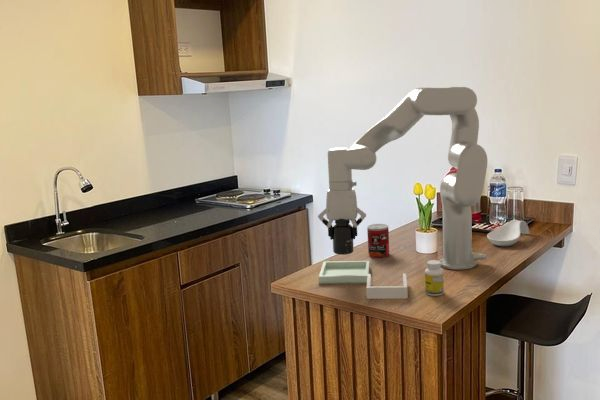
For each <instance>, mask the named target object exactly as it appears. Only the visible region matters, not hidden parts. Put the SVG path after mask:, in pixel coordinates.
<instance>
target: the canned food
mask: <svg viewBox="0 0 600 400" xmlns="http://www.w3.org/2000/svg"><path fill="white" fill-rule="evenodd" d="M366 230H367V250H368V252H367V253H368V256H369V257H371V258H376V259H377V258H378V259H379V258H385V257H388V256H389V254H390V237H389V236H390V235H389V234H390V233H389V225H388V224H386V223H372V224H369V225H367V229H366Z"/></svg>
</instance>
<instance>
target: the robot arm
mask: <svg viewBox="0 0 600 400" xmlns="http://www.w3.org/2000/svg"><path fill="white" fill-rule="evenodd" d="M477 104H478V97H477V94H476V92H475V91H474V90H473V89H471V88H470V87H466V86H450V87H418V88H414V89H413V90H411V91H410V92H409V93H408V94H407V95H406V96H405V97H404V98H403V99H402V100H401V101H400V102H399V103H398V104H397V105H396V106H395V107H394V108H393V109H391V111H390V112H389V113H387V114H386V116H385V117H383V118H382V119H381V120H379V121H378V122H377V123H376V124H374V125H373V126H371V128H369V129H368V130H367V131H365V132H364V133H363V135H362V134H361V135H362V136H361V137H359V138H358V139H357V140H356V141H355V142H354V143H353V144H352V145H351V146H350V148H348V147H333V148H330V149H328V151H327V167H328V168H327V169H328V171H327V172H328V189H327V191H326V203H325V208H324V209H323V210H322V211H321V212H320V213H319V214H318V215H317V218H318V219H319V220H320V221H321V222H322V224H324V225H325V226H326V228H327V234H328V237H329V239H330V240H332V241H333V232H332V228H333V226H334V225H333V222H334V221H335V220H339V219H345V220H350V222H351V223H352V231H353V240H355V239H356V237H358V226H359V225H360V224H361V223H362V222H363V221H364V220H365V218H366V217H367V214H366V212H364V211H363V210H362V209H360V208H359V207H358V201H357V200H358V199H357V195H356V188H353V187H355V186H356V187H357V183H358V182H357V181H353V175H352V174H353V173H352V170H356V171H357V170H358V171H359V170H360V171H367V170H370V169H372V168H373V167H374V166H375V165H376V163H377V155H376V153H377V152H378V151H380V149H381V148H382V147H384V146H385V145H387V144H389V143H391V142H393V141H396V140H398V139H400V138H402V137H403V136H404V135H406V134H407V133H408V132H409V131H410V130H411V129H412V128H413V127H414V126H415V125H416V124H417V123H418V122H419V121H420V120H421V119H422V118H423V117H424V116H449V118H450V119H451V135H450V141H449V147H448V148H449V149H448V155H447V160H448V163H449V165H450V166H451V167H452V168H454V169H456V172H452V173H448V174H447V175H446V176H444V178H443V179H442V180H441V183H440V186H439V193H440V201H441V208H442V210H441V211H442V257H441V258H440V259H439V260H438V261H440V262H441V267H442V268H443V269H449V270H469V269H470V270H471V269H473V268H475V267H476V266H477V263H478V262H477V260H480V261H481V260H483V261H486V260H487V254H486V253H482V252H474V251H473V248H472V247H473V245H472V244H473V243H472V241H473V240H472V239H473V238H472V236H473V235H472V234H473V233H472V230H473V229H472V228H473V227H472V223H473V222H472V221H473V219H472V217H473V216H472V214H473V213H472V207H473V206H475V205H476V204H478V203H479V201H480V200H481V197H482V195H483V192H484V186H485V180H486V175H487V168H488V154H487V152H486V150H485V149H484V147H482V146H481V145H480V144H478V139H479V129H480V119H479V115H478V112H477V109H476V106H477ZM325 215H326V218H325V217H324V216H325ZM358 215H359V216H360V217H359V218H358V219H357V217H358ZM441 267H440V268H441Z"/></svg>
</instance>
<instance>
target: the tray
mask: <svg viewBox="0 0 600 400" xmlns="http://www.w3.org/2000/svg"><path fill="white" fill-rule="evenodd" d="M370 266H371V265H370V260H338V261H337V260H336V261H333V260H331V261H325V260H323V262H322V265H321V268H320V272H319V274H318V284H319V285H321V284H322V285H326V284H327V285H331V284H334V285H336V284H338V285H339V284H343V285H344V284H345V285H346V284H367V277H368V274H370V268H371V267H370Z"/></svg>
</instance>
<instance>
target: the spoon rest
mask: <svg viewBox="0 0 600 400" xmlns="http://www.w3.org/2000/svg"><path fill="white" fill-rule="evenodd" d="M521 233H522V234H521ZM526 234H529V235H530V228H529V226H528V223H527V221H524V220H518V219H512V220H510V221H509V222H506V223H505V224H503V225H501V226H499V227H498V228H496V229H494V230H492V231H490V232H489V233H487V235H486V237H487V239H488V241H489V242H490V243H492V245H494V246H497V247H498V246H499V247H511V246H513V245H514V244H516V243H517V242H518V241H519V240H520V237H521V235H526Z"/></svg>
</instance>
